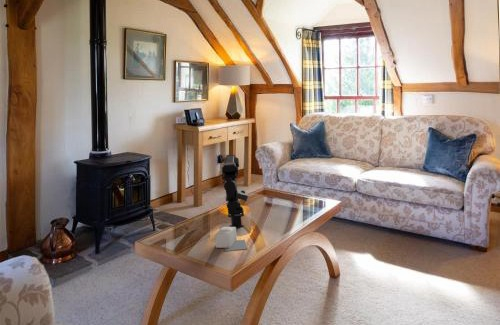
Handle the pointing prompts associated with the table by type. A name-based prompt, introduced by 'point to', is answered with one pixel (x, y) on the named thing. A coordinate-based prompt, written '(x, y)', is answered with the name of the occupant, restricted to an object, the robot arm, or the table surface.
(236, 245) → the mat
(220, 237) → the supplement box
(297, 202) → the table surface
